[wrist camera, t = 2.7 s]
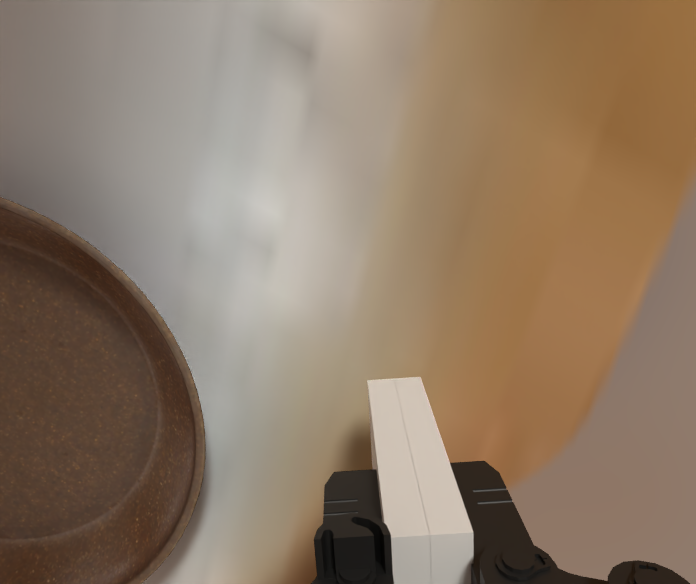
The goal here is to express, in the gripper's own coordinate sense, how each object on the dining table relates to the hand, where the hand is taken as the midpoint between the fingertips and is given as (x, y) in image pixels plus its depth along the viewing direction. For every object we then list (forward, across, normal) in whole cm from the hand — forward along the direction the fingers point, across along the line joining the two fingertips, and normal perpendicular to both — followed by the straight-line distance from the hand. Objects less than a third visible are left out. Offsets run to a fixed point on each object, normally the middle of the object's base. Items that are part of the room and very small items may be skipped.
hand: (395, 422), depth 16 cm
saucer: (+3, -13, 0) cm, 13 cm away
